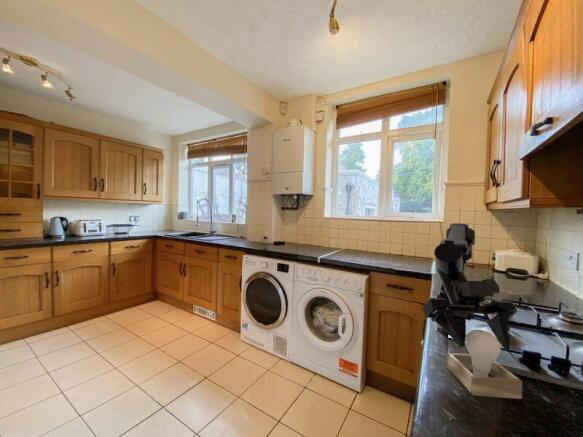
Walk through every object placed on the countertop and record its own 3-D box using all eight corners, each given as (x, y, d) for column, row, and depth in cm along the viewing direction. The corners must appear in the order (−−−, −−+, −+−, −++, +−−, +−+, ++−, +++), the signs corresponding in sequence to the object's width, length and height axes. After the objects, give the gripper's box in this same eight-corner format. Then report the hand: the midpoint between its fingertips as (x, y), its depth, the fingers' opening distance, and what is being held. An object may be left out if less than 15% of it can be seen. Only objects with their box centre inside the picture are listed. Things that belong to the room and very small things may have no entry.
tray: (446, 367, 58) (447, 352, 58) (487, 369, 57) (487, 355, 57) (473, 395, 49) (473, 378, 49) (521, 398, 48) (522, 381, 48)
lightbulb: (464, 368, 57) (466, 322, 57) (497, 380, 54) (500, 331, 54) (462, 381, 53) (464, 331, 53) (498, 395, 49) (501, 341, 49)
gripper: (430, 264, 58) (457, 331, 47) (512, 266, 57) (560, 337, 46) (414, 287, 66) (434, 350, 55) (486, 290, 64) (521, 354, 54)
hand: (485, 348), depth 52 cm, fingers open, 9 cm apart
